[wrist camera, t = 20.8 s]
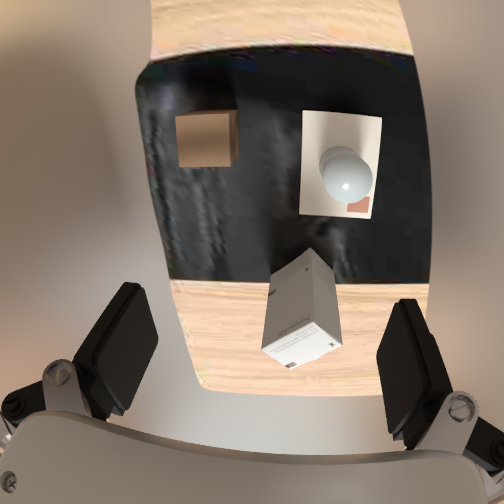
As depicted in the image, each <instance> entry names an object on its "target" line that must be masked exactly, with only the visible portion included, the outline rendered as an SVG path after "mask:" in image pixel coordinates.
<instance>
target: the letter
mask: <svg viewBox="0 0 504 504" xmlns="http://www.w3.org/2000/svg"><path fill="white" fill-rule="evenodd" d="M381 123H382V118H380V117H373V116H365V115H356V114H346V113H335V112H323V111H307V110H303V126H302V161H301V186H300V207H299V214H304V215H322V216H339V217H354V218H368V219H370V217H371V211H372V204H373V197H374V190H375V183H376V175H377V166H378V157H379V147H380V136H381ZM335 146H345V147H348V148H350V149H352V150H353V151H354V152H355V153H356V154H357V155H359V156H360V157H361V158H362V159H363V160H364V161H365V162H366V163H367V164H368V166H369V167H370V169H371V171H372V175H373V183H372V187H371V190H370V191H369V193H368V194H367V195H366V196H365V197H364V198H363V199H362V200H360V201H358V202H355V203H342V202H339V201H337V200H335V199H334V198H333V197H331V195H330V194H329V193H328V191H327V189H326V187H325V184H324V181H323V179H322V176H321V174H320V170H319V163H320V159H321V157H322V155H323V154H324V153H325V152H326V151H327V150H328V149H330V148H332V147H335Z"/></svg>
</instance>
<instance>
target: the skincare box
mask: <svg viewBox="0 0 504 504" xmlns="http://www.w3.org/2000/svg"><path fill="white" fill-rule="evenodd" d="M341 345H343V343H342V336H341V327H340V318H339V310H338V302H337V295H336V287H335V280H334V272H333V271H332V269H331V268H330V267H329V266H328V265H327V264H326V263H325V262H324V261H323V260H322V259H321V258H320V257H319V256H318V255H317V253H316V252H315V251H314V250H313V249H312V248H309V249H308V250H306V251H305V252H304V253H303V254H302V255H300V256H299V257H298V258H296V259H295V260H293V261H292V262H291V263H289V264H288V265H286V266H285V267H283V268H282V269H280V270H279V271H277V272H275V273H274V274H272V275H271V278H270V285H269V294H268V301H267V309H266V317H265V325H264V332H263V339H262V347H261V350H262V351H263V352H265V353H266V354H268V355H269V356H271V357H272V358H274V359H275V360H277V361H278V362H280V363H281V364H283V365H284V366H286V367H287V368H289V369H293V368H295V367H297V366H300V365H302V364H304V363H306V362H309V361H313V360H316V359H318V358H319V357H320V356H321V355H323V354H325V353H327V352H329V351H331V350H333V349H335V348H337V347H339V346H341Z"/></svg>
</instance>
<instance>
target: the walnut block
mask: <svg viewBox="0 0 504 504" xmlns="http://www.w3.org/2000/svg"><path fill="white" fill-rule="evenodd" d="M175 118H176V132H177V145H178V157H179V167H212V166H231V165H232V164H233V162H234V161H235V160H236V158H237V157H238V155H239V132H238V109H230V110H206V111H191V112H188V113H185V114H182V115H179V116H175Z"/></svg>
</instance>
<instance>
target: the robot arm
mask: <svg viewBox="0 0 504 504" xmlns="http://www.w3.org/2000/svg"><path fill="white" fill-rule="evenodd" d="M157 344H158V334H157V331H156V327H155V324H154V321H153V318H152V314H151V311H150V307H149V304H148V300H147V297H146V293H145V290H144V288H142V287H141V286H140V284H138V283H131V282H124V283H123V284H122V286H121V287H120V289H119V290H118V292H117V293H116V294H115V296H114V297H113V299H112V300H111V301H110V303H109V304H108V306H107V307H106V309H105V310H104V312H103V313H102V314H101V316H100V317H99V319H98V320H97V322H96V323H95V325H94V327H93V328H92V330H91V331H90V332H89V334H88V336H87V337H86V339H85V340H84V342H83V343H82V345H81V346H80V348H79V349H78V351H77V353H76V354H75V356H74V359H73V361H72V362H71V361H69V360H67V359H59V360H56V361H54V362H51V363H50V364H49V365H48V366H47V367H46V368H45V370H44V372H43V376H42V380H41V381H39V382H36V383H34V384H31V385H29V386H26V387H24V388H21V389H19V390H16V391H14V392H12V393H10V394H8V395H7V396H6V397H5V399H4V401H3V402H2V406H1V411H0V504H504V433H503V432H502V431H500V430H499V429H497V428H496V427H494V426H493V425H491V424H489V423H488V422H486V421H485V420H483V419H482V418H480V417H479V416H478V413H479V407H478V404H477V402H476V400H475V399H474V398H473V396H471V395H470V394H469V393H466V392H463V391H455V392H453V389H452V386H451V383H450V380H449V377H448V374H447V371H446V368H445V365H444V362H443V360H442V357H441V354H440V351H439V348H438V346H437V343H436V340H435V338H434V336H433V335H432V334H430V332H429V329H428V327H427V325H426V322H425V319H424V317H423V315H422V312H421V310H420V307H419V305H418V303H417V301H416V299H400V300H399V302H398V303H395V304H394V307H393V310H392V313H391V315H390V318H389V321H388V324H387V327H386V329H385V332H384V335H383V337H382V340H381V343H380V345H379V348H378V350H377V355H376V359H377V365H378V370H379V375H380V381H381V387H382V392H383V398H384V405H385V411H386V418H387V425H388V431H389V433H390V434H393V440H394V441H395V440H404V445H405V448H404V449H403V451H395V452H384V453H370V454H352V455H289V454H272V453H259V452H248V451H239V450H231V449H224V448H217V447H210V446H205V445H199V444H193V443H187V442H182V441H178V440H173V439H169V438H164V437H160V436H156V435H151V434H148V433H144V432H140V431H137V430H133V429H129V428H125V427H122V426H118V425H115V424H112V423H110V420H109V417H110V414H111V413H113V414H116V415H119V416H123V414H124V412H125V410H128V409H129V408H130V406H131V403H132V401H133V399H134V396H135V394H136V392H137V389H138V387H139V385H140V382H141V380H142V378H143V375H144V373H145V371H146V368H147V366H148V364H149V362H150V360H151V357H152V355H153V353H154V351H155V349H156V346H157Z"/></svg>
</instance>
